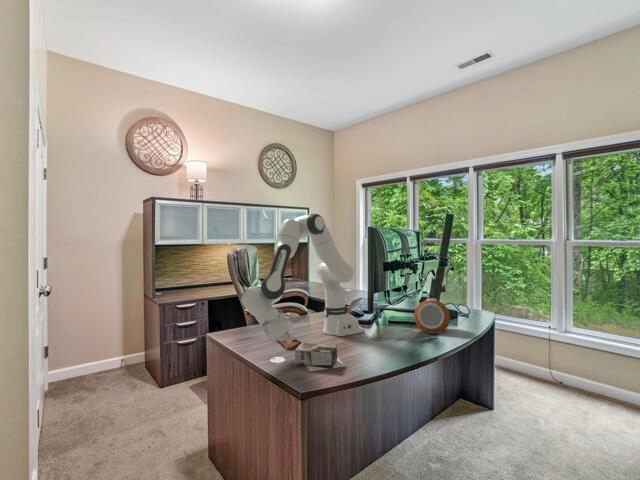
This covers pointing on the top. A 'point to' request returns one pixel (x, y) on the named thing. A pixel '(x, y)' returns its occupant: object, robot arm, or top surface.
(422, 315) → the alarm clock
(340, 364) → the felt pad
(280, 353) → the top surface
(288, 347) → the sunglasses case
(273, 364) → the top surface
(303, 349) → the coffee box
